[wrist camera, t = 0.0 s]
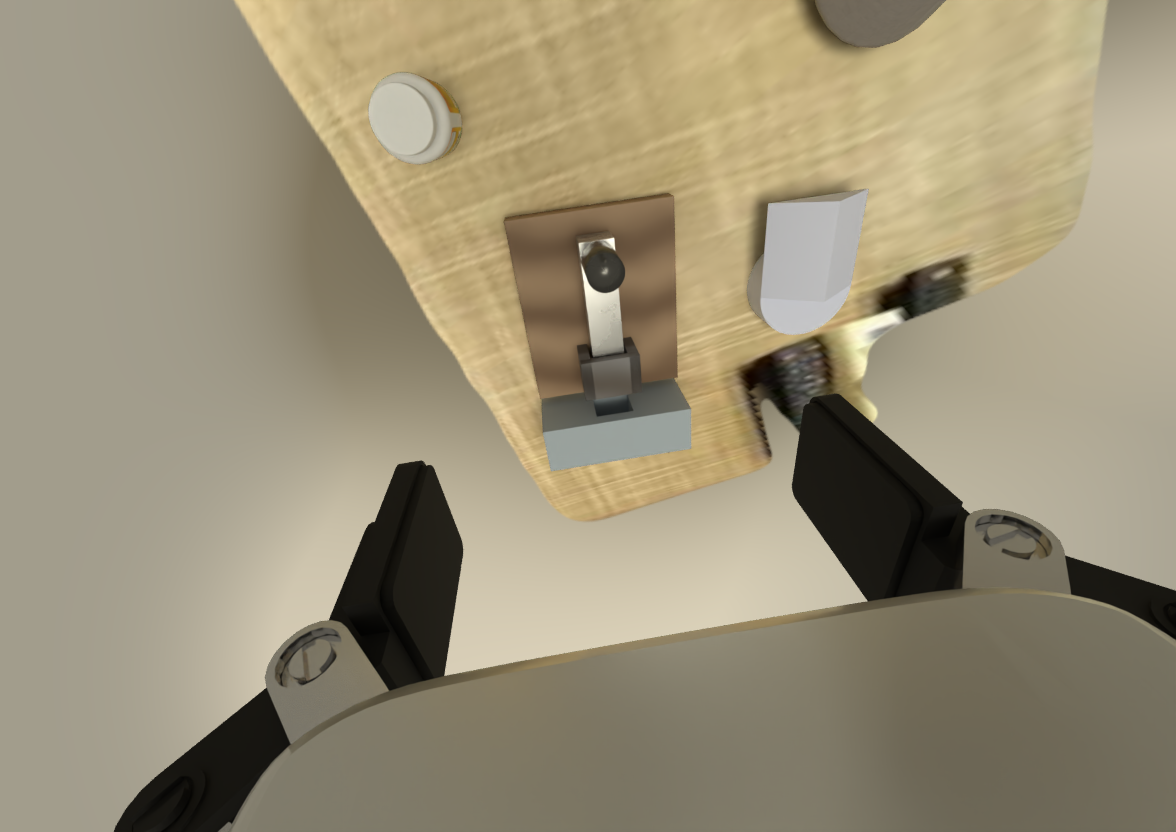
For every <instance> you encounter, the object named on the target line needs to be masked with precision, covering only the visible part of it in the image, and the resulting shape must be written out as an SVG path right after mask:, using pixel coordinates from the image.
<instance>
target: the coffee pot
mask: <svg viewBox="0 0 1176 832" xmlns="http://www.w3.org/2000/svg"><path fill="white" fill-rule="evenodd" d="M945 1H946V0H815V4H816V8H817V10H818V12H819V14H820V15H821V17H822V19H823V21H824V23H825V25H826V26H827V28H828V29H829V30H830V31H832V32H833V33H834V34H835V35H836V36H837V37H838V38H839V39H840V40H841V41H844V42H846V43H849V44H851V45H853V46H856V47H874V48H877V47H880V46H883V45H887V44H890V43H893V42H896V41H898V40H900V39H901V38H903V37H904V36H906V35H907V34H909V33H911V32H912V31H914V30H915V29H917V28H918V27H919V26H920V25H921V24H922V23H923V22H925V21H926V20H927V19H928V18H929V17H930V16H931V15H932V14H933V13H934V12H935V11H936V10H937V9H938V8H939V7H940V6H941V5H942V4H943V3H944V2H945Z"/></svg>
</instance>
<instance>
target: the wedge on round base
mask: <svg viewBox="0 0 1176 832" xmlns="http://www.w3.org/2000/svg"><path fill="white" fill-rule="evenodd" d="M868 190H869V189H862V190H856V191H849V192H842V193H835V194H829V195H822V196H815V197H808V198H801V199H795V200H788V201H781V202H774V203H768V214H767V226H766V238H765V250H764V253H763V254H762V255H761V257H760V258H759V259H758V260H757V262H756V263H755V265H754V267H753V269H752V271H751V273H750V276H749V280H748V285H747V296H748V301H749V304H750V306H751V308H752V310H753V311H754V312H755V313H756V314H757V315H758V316H759V317H760V318H761V319H762V320H763V321H765V322H766V323H767V324H768V325H769V326H771V327H772V328H773V329H775V330H776V331H778V332H781V333H784V334H790V335H797V334H803V333H807V332H810V331H813V330H815V329H817V328H819V327H821V326H822V325H823V324H825V323H826V322H828V321H829V320H830V319H831V318H832V317H833V316H834V315H835V314H836V313H837V312H838V311H839V309H840V308H841V306H842V305H843V303H844V302H845V300H846V298H847V296H848V293H849V290H850V286H851V281H852V276H853V271H854V265H855V260H856V255H857V249H858V244H859V238H860V233H861V228H862V222H863V217H864V211H865V206H866V201H867V195H868Z"/></svg>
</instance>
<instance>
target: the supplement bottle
mask: <svg viewBox="0 0 1176 832" xmlns="http://www.w3.org/2000/svg"><path fill="white" fill-rule="evenodd" d="M368 114H369V121H370V125H371V127H372V130H373V132H374V134H375V135H376V137H377V139H378V141H379V142H380V143H381V145H382V146H383V147H384V148H385V149H386V150H387V151H388V152H389V153H390V154H391V155H393V156H394V157H396V158H397V159H399V160H401V161H403V162H406V163H410V164H425V163H429V162H432V161H434V160H437V159H439V158H442V157H444V156H446V155H448V154H449V153H450V152H452V151H453V150H454V148H455V147H456V146H457V144H458V142H459V140H460V137H461V132H462V119H461V114H460V111H459V108H458V106H457V104H456V102H455V100H454V99H453V97H452V96H451V95H450V94H449V93H448V92H447V91H446V90H445V89H444V88H443V87H442V86H440V85H439V84H437V83H435V82H433V81H430V80H428V79H425V78H423V77H421V76H418V75H416V74H412V73H407V72H400V73H394V74H391V75H389V76H387V77H385V78H383V79H382V80H381V81H380V82H379V83H378V84H377V85H376V87H375V89H374V91H373V93H372V95H371V99H370V102H369V108H368Z"/></svg>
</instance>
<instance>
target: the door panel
mask: <svg viewBox="0 0 1176 832" xmlns="http://www.w3.org/2000/svg"><path fill="white" fill-rule="evenodd" d="M504 224H505V229H506V234H507V239H508V244H509V249H510V253H511V258H512V263H513V268H514V273H515V278H516V283H517V288H518V293H519V298H520V302H521V307H522V312H523V317H524V322H525V327H526V332H527V337H528V342H529V346H530V351H531V356H532V361H533V366H534V371H535V376H536V381H537V386H538V391H539V395H540V399H543V398H549V397H556V396H562V395H568V394H575V393H581V392H584V394H585V399H586V401H590V400H597V399H603V398H609V397H616V396H622V395H628V394H635V393H641V392H642V383H644V382H651V381H657V380H663V379H670V378H676V377H678V375H677V323H676V271H675V219H674V196H673V195H671V194H669V193H668V194H661V195H654V196H647V197H641V198H634V199H627V200H620V201H613V202H607V203H600V204H593V205H586V206H580V207H573V208H566V209H559V210H553V211H546V212H539V213H532V214H526V215H519V216H512V217H505V219H504ZM606 231H609V232H610V233H611V234H612V236H613V237H614V242H615V252H616V253H617V255H618V256H619V258H620V259H621V261H622V262H623V264H624V267H625V278H624V281H623V283H622V284H621V286H620V287H619V300H620V311H621V323H622V334H623V346H624V354H618V355H612V356H605V357H599V358H593V359H592V358H591V351H590V343H589V335H588V328H587V320H586V312H585V304H584V296H583V289H582V281H581V273H580V265H579V258H578V250H577V242H576V236H579V235H586V234H592V233H599V232H606Z"/></svg>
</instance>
